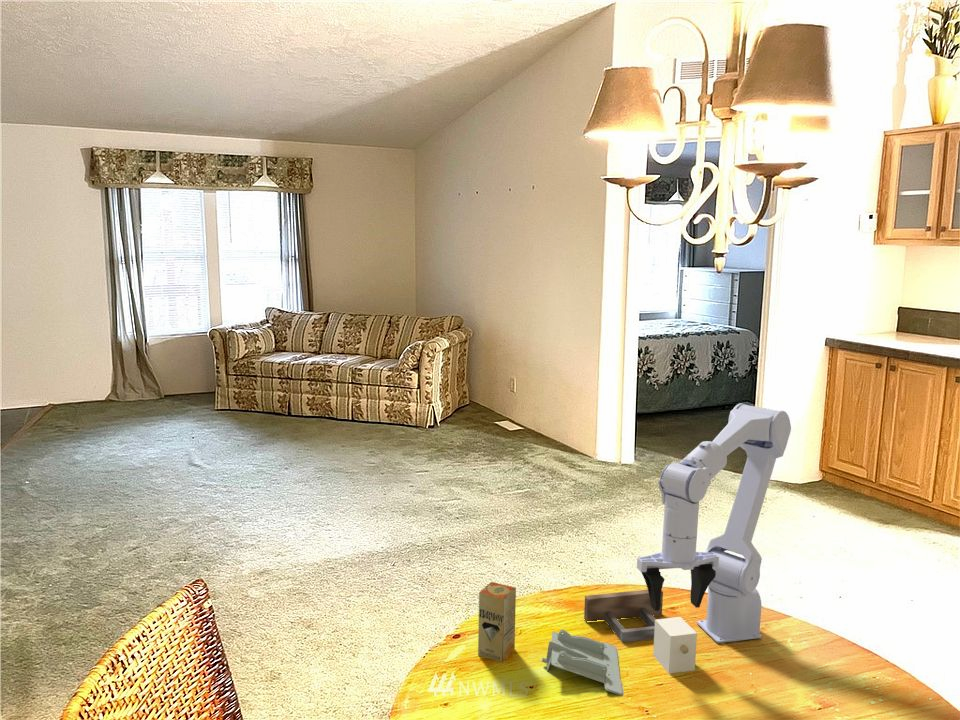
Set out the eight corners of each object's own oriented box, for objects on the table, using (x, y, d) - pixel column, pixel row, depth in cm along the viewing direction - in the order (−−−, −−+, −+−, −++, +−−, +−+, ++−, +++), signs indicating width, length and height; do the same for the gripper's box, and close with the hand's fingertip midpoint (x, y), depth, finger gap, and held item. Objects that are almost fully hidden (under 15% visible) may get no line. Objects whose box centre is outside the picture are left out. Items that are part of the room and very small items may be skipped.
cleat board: (658, 611, 156) (659, 588, 155) (681, 635, 146) (683, 610, 146) (584, 619, 152) (584, 595, 151) (603, 644, 143) (604, 619, 142)
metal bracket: (550, 659, 127) (551, 615, 142) (539, 689, 128) (541, 643, 143) (633, 688, 127) (625, 641, 141) (621, 718, 128) (615, 668, 142)
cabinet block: (678, 652, 141) (680, 616, 139) (697, 672, 134) (699, 635, 133) (653, 655, 139) (654, 619, 138) (670, 676, 133) (672, 638, 132)
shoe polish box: (490, 642, 143) (491, 581, 141) (514, 649, 141) (515, 587, 139) (478, 655, 139) (478, 592, 137) (502, 662, 136) (504, 598, 135)
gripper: (650, 543, 128) (646, 620, 130) (730, 539, 131) (724, 614, 133) (633, 528, 135) (629, 601, 137) (709, 524, 138) (704, 595, 140)
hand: (675, 606), depth 135 cm, fingers open, 7 cm apart
